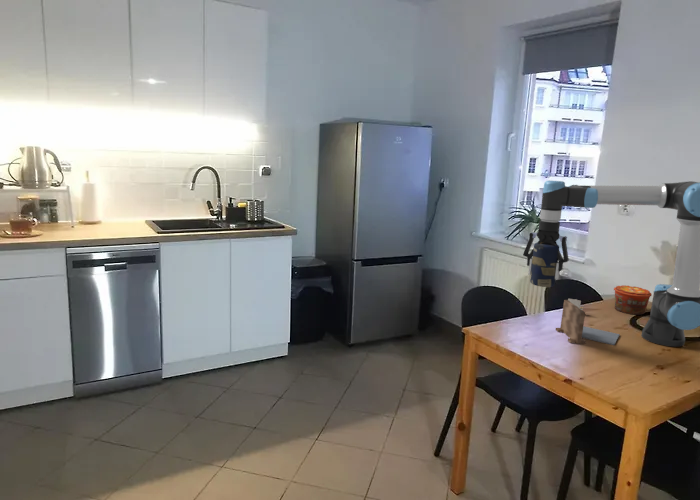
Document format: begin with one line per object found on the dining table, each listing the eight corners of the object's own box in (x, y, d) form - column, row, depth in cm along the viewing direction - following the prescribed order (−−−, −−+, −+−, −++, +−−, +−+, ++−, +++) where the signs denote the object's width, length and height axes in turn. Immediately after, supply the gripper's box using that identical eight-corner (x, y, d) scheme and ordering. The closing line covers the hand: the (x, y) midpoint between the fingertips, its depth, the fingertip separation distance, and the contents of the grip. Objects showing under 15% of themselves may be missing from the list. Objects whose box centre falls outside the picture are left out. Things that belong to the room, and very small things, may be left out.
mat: (619, 335, 210) (619, 334, 210) (614, 345, 199) (614, 343, 199) (583, 327, 218) (583, 326, 218) (576, 336, 207) (576, 335, 206)
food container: (604, 305, 252) (607, 284, 250) (633, 305, 254) (637, 285, 252) (624, 316, 237) (628, 294, 235) (656, 316, 239) (659, 294, 237)
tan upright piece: (554, 329, 214) (558, 299, 211) (568, 329, 214) (573, 300, 211) (571, 343, 198) (575, 312, 196) (586, 344, 198) (591, 312, 196)
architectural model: (566, 312, 240) (568, 296, 239) (582, 315, 237) (584, 299, 235) (565, 313, 237) (567, 298, 236) (581, 316, 234) (583, 301, 232)
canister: (558, 289, 198) (564, 244, 194) (534, 288, 198) (539, 242, 195) (549, 282, 207) (554, 239, 204) (526, 281, 208) (531, 238, 204)
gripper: (582, 223, 195) (574, 279, 199) (523, 216, 207) (518, 270, 211) (578, 225, 188) (570, 283, 193) (518, 218, 201) (512, 273, 205)
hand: (543, 276), depth 202 cm, fingers closed on canister, 9 cm apart
